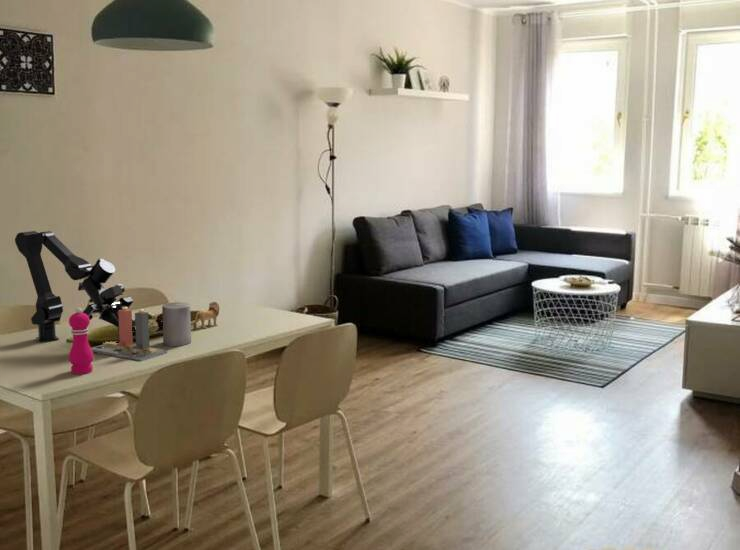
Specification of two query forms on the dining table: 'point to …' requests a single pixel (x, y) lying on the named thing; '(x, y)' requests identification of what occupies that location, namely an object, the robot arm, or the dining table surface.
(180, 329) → the pillar candle
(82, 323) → the pepper mill
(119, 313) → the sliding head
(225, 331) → the dining table surface
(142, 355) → the bolt plate
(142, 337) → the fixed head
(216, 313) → the lion figurine
